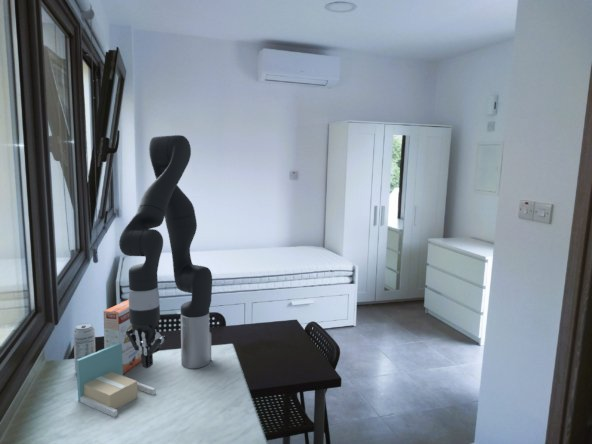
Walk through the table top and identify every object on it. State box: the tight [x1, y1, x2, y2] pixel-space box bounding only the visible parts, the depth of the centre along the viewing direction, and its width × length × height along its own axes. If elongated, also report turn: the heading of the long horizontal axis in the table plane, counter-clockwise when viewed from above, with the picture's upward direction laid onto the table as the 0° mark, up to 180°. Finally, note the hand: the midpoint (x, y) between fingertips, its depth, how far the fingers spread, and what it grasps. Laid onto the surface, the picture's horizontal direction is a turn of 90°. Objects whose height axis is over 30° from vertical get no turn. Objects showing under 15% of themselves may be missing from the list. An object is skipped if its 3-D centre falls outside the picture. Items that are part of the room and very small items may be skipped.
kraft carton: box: [84, 372, 139, 410], centre depth 121 cm, size 9×11×5 cm
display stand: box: [76, 343, 156, 418], centre depth 122 cm, size 14×15×12 cm
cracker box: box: [103, 298, 141, 375], centre depth 140 cm, size 14×6×21 cm, turn 166°
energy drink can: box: [72, 322, 96, 373], centre depth 136 cm, size 6×6×15 cm
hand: (147, 366), depth 115 cm, fingers closed
